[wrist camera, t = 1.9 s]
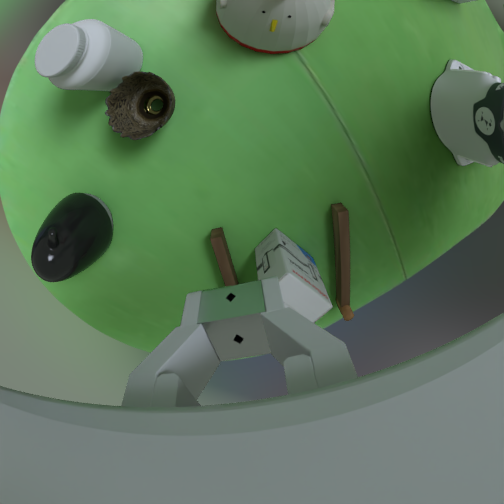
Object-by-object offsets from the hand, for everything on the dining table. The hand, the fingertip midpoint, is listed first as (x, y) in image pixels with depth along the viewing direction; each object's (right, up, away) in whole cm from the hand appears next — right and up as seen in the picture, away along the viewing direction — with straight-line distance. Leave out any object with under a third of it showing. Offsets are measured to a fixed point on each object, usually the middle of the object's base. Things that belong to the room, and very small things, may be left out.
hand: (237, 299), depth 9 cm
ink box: (+5, +1, +32) cm, 33 cm away
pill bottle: (-17, +26, +17) cm, 35 cm away
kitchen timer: (+3, +32, +15) cm, 36 cm away
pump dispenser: (-24, +7, +27) cm, 37 cm away
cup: (-12, +20, +20) cm, 31 cm away
